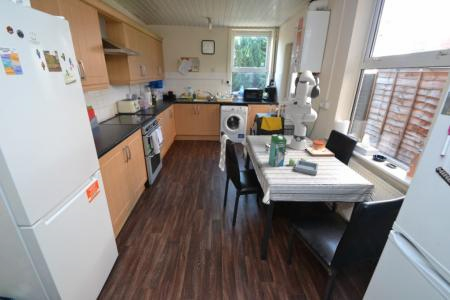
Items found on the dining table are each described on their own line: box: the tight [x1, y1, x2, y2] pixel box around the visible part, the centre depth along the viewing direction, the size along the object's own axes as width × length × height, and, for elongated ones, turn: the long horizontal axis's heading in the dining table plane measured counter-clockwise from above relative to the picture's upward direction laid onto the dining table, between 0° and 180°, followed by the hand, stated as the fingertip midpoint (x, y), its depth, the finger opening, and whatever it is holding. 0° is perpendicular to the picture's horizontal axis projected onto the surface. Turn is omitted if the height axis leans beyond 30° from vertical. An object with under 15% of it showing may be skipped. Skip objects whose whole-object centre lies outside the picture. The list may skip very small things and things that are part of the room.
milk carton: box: [268, 133, 288, 168], centre depth 169 cm, size 9×9×25 cm
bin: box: [294, 159, 319, 176], centre depth 165 cm, size 16×16×4 cm
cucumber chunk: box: [288, 158, 296, 167], centre depth 172 cm, size 4×4×5 cm
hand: (297, 119), depth 168 cm, fingers open, 8 cm apart
